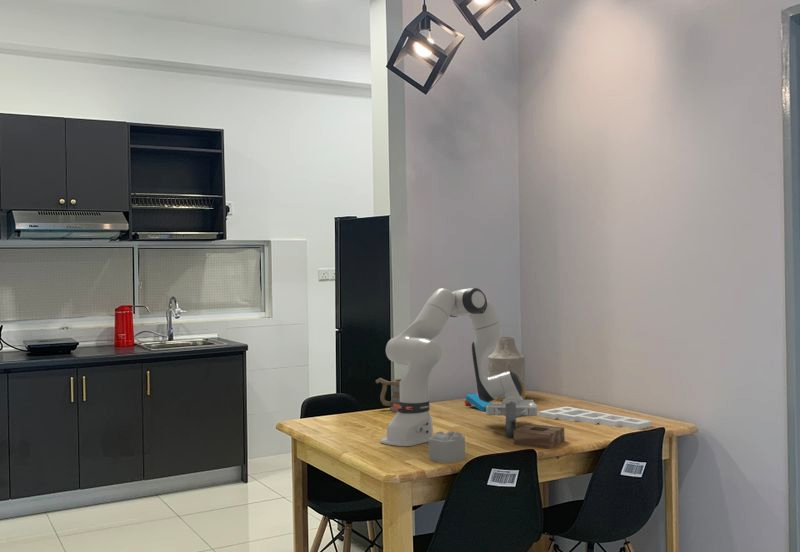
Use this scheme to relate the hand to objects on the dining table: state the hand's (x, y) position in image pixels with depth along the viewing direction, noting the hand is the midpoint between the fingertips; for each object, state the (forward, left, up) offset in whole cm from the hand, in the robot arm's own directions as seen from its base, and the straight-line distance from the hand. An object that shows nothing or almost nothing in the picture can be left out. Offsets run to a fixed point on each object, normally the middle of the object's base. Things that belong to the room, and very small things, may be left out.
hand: (510, 413), depth 291 cm
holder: (+41, -18, -9) cm, 45 cm away
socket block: (-6, -15, -8) cm, 18 cm away
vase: (+77, +41, -9) cm, 87 cm away
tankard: (+23, +70, -9) cm, 75 cm away
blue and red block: (+46, +40, -9) cm, 61 cm away
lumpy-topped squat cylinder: (-42, +3, -9) cm, 43 cm away
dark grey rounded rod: (-3, -2, -8) cm, 9 cm away
